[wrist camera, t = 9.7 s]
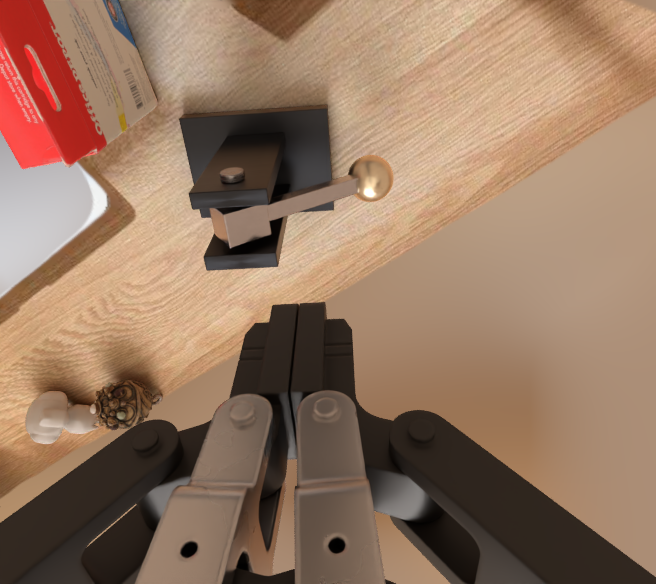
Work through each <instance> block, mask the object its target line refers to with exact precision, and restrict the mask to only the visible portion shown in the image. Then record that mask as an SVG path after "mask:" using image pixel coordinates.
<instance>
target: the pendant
mask: <svg viewBox="0 0 656 584" xmlns="http://www.w3.org/2000/svg"><path fill="white" fill-rule="evenodd" d="M96 396H97V398H98V399H97V400H95V401H94V402H95V403H94V404H92V405H91V407H90V412H91V413H92V414H93V415H95V414H96V415H98V417H97V418H98V419H99V425H100V426H103V425H107V426H106V429H111V430H116V429H118V428H123V429H129V428H131V427H133V426H134V425H136V424H137V425H138V424H140V423H141V422H142V421H143V420H144V418H147V417H148V414H149V411H150V410H151V409H152V405H157V404H159V402H161V401H162V399H163V397H162V395H160V394H157V395H154V396H152V394H151V393H150V391H149V389H148V388H147V387H146V385H144V384H143V383H141V382H138V381H134V380H122V381H120V382H117V383H110V382H109V383H108V384H106V386H104V387H103V389H102V390H100V391H97V392H96ZM156 398H159V399H158V400H157V401H156V402H153V400H154V399H156Z"/></svg>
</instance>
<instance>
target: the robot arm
mask: <svg viewBox="0 0 656 584" xmlns="http://www.w3.org/2000/svg"><path fill="white" fill-rule="evenodd" d="M239 359H240V360H239V362H238V366H237V370H236V374H235V378H234V382H233V386H232V390H231V394H230V398H229V399H228V400H226V401H225V402H223V403H222V404H221V405H220V406H219V407H218V409H217V410H216V411H215V413H214V416H213V418H212V420H210V421H209V422H207V423H205V424H202V425H199V426H196V427H193V428H189V429H186V430H182V431H179V432H178V431H177V429H176V427H175V426H174V425H173V424H172V423H170V422H168V421H164V420H149V421H145V422H143V423H140V424H138V425H136V426H134V427H132V428H131V429H129V430H128V431H126V432H125V433H124V434H122V435H121V436H120V437H118V438H117V439H115V440H114V441H113V442H111V443H110V444H108V445H107V446H106V447H104V448H103V449H102V450H100V451H99V452H97V453H96V454H95V455H93V456H92V457H91V458H89V459H88V460H87V461H85V462H84V463H82V464H81V465H80V466H78V467H77V468H75V469H74V470H73V471H71V472H70V473H69V474H67V475H66V476H64V477H63V478H62V479H60V480H59V481H58V482H56V483H55V484H53V485H52V486H51V487H49V488H48V489H46V490H45V491H44V492H42V493H41V494H40V495H38V496H37V497H35V498H34V499H33V500H32V501H30V502H29V503H27V504H26V505H25V506H23V507H22V508H20V509H19V510H18V511H16V512H15V513H13V514H12V515H11V516H9V517H8V518H6V519H5V520H4V521H2V522H1V523H0V584H396V583H393V582H391V581H388V580H386V579H385V577H384V570H383V564H382V559H381V552H380V545H379V539H378V533H377V527H376V520H375V514H374V511H376V512H380V513H384V514H387V515H390V517H391V520H392V521H393V523H394V525H395V526H396V527H397V528H398V529H399V530H400V531H401V532H402V533H403V534H404V535H405V537H406V538H408V540H409V541H410V542H411V543H413V545H414V546H415V547H416V548H417V549H418V550H419V551H420V552H421V553H422V554H423V555H424V556H425V557H426V558H427V559H428V560H429V561H430V562H431V563H432V565H433V566H434V567H435V568H436V569H437V570H438V571H439V572H440V573H441V574H442V575H443V576H444V577H445V578H446V579H447V580H448V581H449V582H450V583H451V584H656V577H655V576H653V575H652V574H650V573H649V572H648V571H647V570H645V569H644V568H643V567H641V566H640V565H639V564H637V563H636V562H635V561H633V560H632V559H630V558H629V557H628V556H627V555H625V554H624V553H623V552H621V551H620V550H619V549H617V548H616V547H615V546H613V545H612V544H611V543H609V542H608V541H607V540H605V539H604V538H602V537H601V536H600V535H598V534H597V533H596V532H595V531H593V530H592V529H591V528H589V527H588V526H586V525H585V524H584V523H582V522H581V521H580V520H578V519H577V518H576V517H574V516H573V515H572V514H570V513H569V512H568V511H566V510H565V509H564V508H562V507H561V506H560V505H558V504H557V503H556V502H554V501H553V500H552V499H550V498H549V497H548V496H546V495H545V494H544V493H542V492H541V491H540V490H538V489H537V488H536V487H534V486H533V485H532V484H530V483H529V482H528V481H526V480H525V479H523V478H522V477H521V476H519V475H518V474H517V473H516V472H514V471H513V470H512V469H510V468H509V467H508V466H506V465H505V464H503V463H502V462H501V461H500V460H498V459H497V458H496V457H494V456H493V455H492V454H490V453H489V452H488V451H486V450H485V449H484V448H482V447H481V446H480V445H478V444H477V443H475V442H474V441H473V440H471V439H470V438H469V437H468V436H466V435H465V434H463V433H462V432H461V431H459V430H458V429H457V428H455V427H454V426H453V425H451V424H450V423H449V422H447V421H446V420H445V419H443V418H442V417H440V416H439V415H437V414H435V413H432V412H429V411H423V410H414V411H408V412H405V413H403V414H401V415H399V416H398V417H397V418H396V419H395V420H394V421H391V420H387V419H383V418H379V417H376V416H373V415H371V414H370V413H368V412H366V411H365V410H364V409H363V408H362V407H361V406H360V405H359V403H358V402H357V399H356V395H355V381H354V361H353V342H352V329H351V328H350V327H349V325H348V324H347V322H346V321H345V320H344V319H327V317H326V305H325V302H319V303H300V305H299V304H281V305H273V306H272V310H271V316H270V321H269V322H268V323H255V324H254V325H253V326H252V327H251V329H250V330H249V331H248V332H247V333H246V334H245V338H244V342H243V346H242V350H241V354H240V358H239ZM287 459H297V486H295V492H294V515H295V569H293V570H289V571H286V572H283V573H279V574H276V575H273V560H274V553H275V547H276V542H277V536H278V530H279V525H280V519H281V513H282V508H283V502H284V497H285V491H286V481H285V477H286V469H287ZM135 504H137V505H136V506H135V507H134V508H133V509H132V510H130V511H129V512H128V513H127V514H126V515H125V516H123V517H122V518H121V519H120V520H119V521H117V522H116V523H115V524H114V525H113V526H111V527H110V528H109V529H108V530H107V531H106V532H104V533H103V534H102V535H101V536H100V537H98V538H97V539H96V540H95V541H94V542H93V543H91V544H90V545H89V543H90V542H91V541H92V540H93V539H95V538H96V537H97V536H98V535H99V534H100V533H102V532H103V531H104V530H105V529H106V528H108V527H109V526H110V525H111V524H112V523H114V522H115V521H116V520H117V519H118V518H120V517H121V516H122V515H123V514H124V513H125V512H127V511H128V510H129V509H130V508H131V507H133V506H134V505H135ZM88 545H89V546H88ZM87 546H88V547H87ZM86 547H87V548H86Z"/></svg>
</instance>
